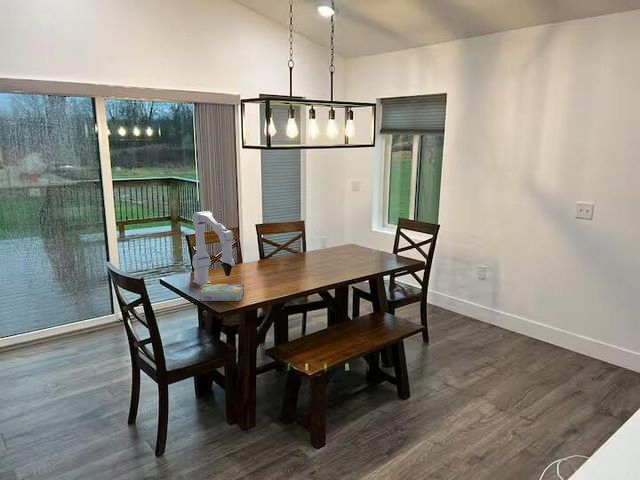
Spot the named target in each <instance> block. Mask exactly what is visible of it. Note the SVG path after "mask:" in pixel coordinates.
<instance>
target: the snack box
mask: <svg viewBox="0 0 640 480" xmlns="http://www.w3.org/2000/svg"><path fill="white" fill-rule="evenodd" d="M244 289H245V288H244V283H207V284H206V285H205V286H204V288H203V289H201V290H200V291H199V294H200V301H201V302H208V301H209V302H218V301H219V302H221V301H224V302H227V301H228V302H235V301H236V302H240V301H241V300H242V298H243V295H244V293H245V290H244Z"/></svg>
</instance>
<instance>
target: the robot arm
mask: <svg viewBox="0 0 640 480" xmlns="http://www.w3.org/2000/svg"><path fill="white" fill-rule="evenodd" d="M192 223H193V224H192V225H193V226H194V233H195V235H194V236H195V247H196V252H195V254H194V255H193V256H192V262H191V263H192V267H193V278H194V279H193V280H192V282H193V283H195V284H196V285H199V286H201V285H203V284H212V282H211V281H210V280H209V268H210V267H211V264H212V261H211V257H210V254H209V253H208V252H206V241H205V226H206V224H208V225H209V226H211V227H212V230H213V232H214V233H215V234H217V236H218V239H219V242H220V245H221V256H220V258H219V261H220V262H222V263H221V266H222V268H223V270H224V271H223V272H224V275H225V276H226V277H230V276H231V273H232V270H233V269H232V268H233V267H234V266H235V264H236V262H235V259H234V258H233V240H234V238H235V234H234V232H233V230H232V229H227V227H225V226H224V225H223V224H222V223H218V221H216V219H215V218H214V216H213V213H212V211H210V210H207V211H206V210H205V211H194V212H193V214H192Z"/></svg>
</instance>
